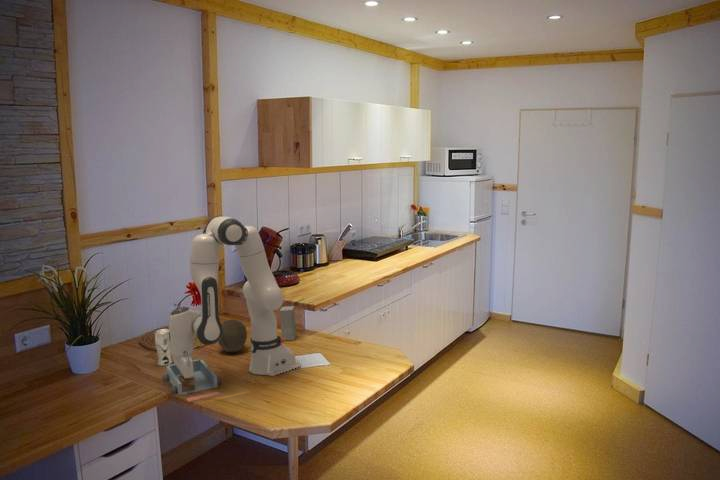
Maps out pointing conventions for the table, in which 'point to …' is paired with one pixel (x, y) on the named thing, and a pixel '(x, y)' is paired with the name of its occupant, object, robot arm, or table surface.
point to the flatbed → (201, 374)
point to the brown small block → (187, 383)
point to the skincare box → (288, 323)
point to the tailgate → (202, 396)
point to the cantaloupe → (233, 335)
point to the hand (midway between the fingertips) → (184, 381)
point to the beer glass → (163, 346)
